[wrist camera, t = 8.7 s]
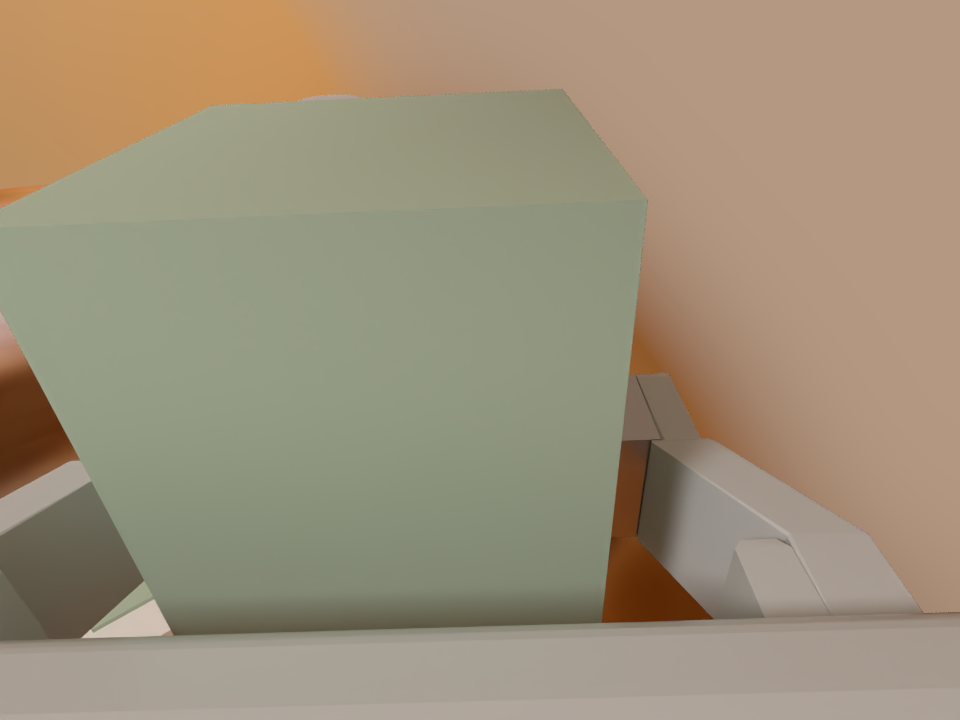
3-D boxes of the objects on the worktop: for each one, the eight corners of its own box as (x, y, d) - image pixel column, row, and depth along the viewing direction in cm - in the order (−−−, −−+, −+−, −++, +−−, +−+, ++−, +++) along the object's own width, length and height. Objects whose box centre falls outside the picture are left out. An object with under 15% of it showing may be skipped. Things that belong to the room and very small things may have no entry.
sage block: (272, 820, 10) (-43, 230, 4) (333, 565, 14) (212, 105, 9) (580, 812, 10) (648, 198, 4) (548, 558, 14) (562, 89, 8)
